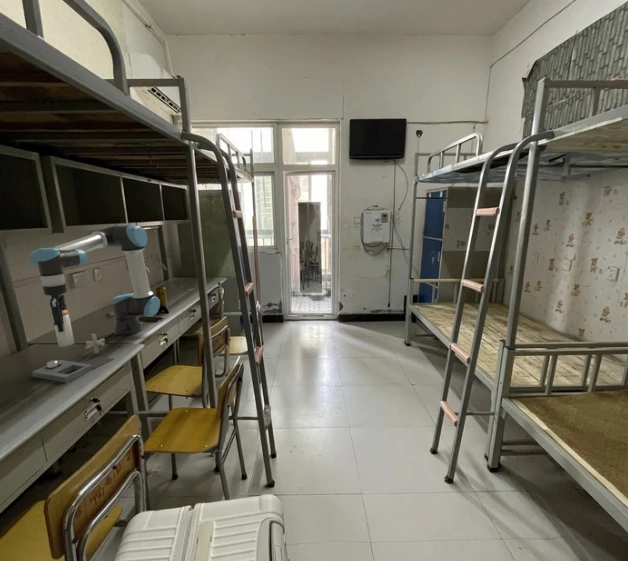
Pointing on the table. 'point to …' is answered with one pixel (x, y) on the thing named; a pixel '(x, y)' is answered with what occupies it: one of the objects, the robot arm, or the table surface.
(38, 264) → the robot arm
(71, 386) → the table surface
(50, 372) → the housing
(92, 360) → the mat
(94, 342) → the pipe connector
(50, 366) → the plunger
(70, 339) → the cartridge
